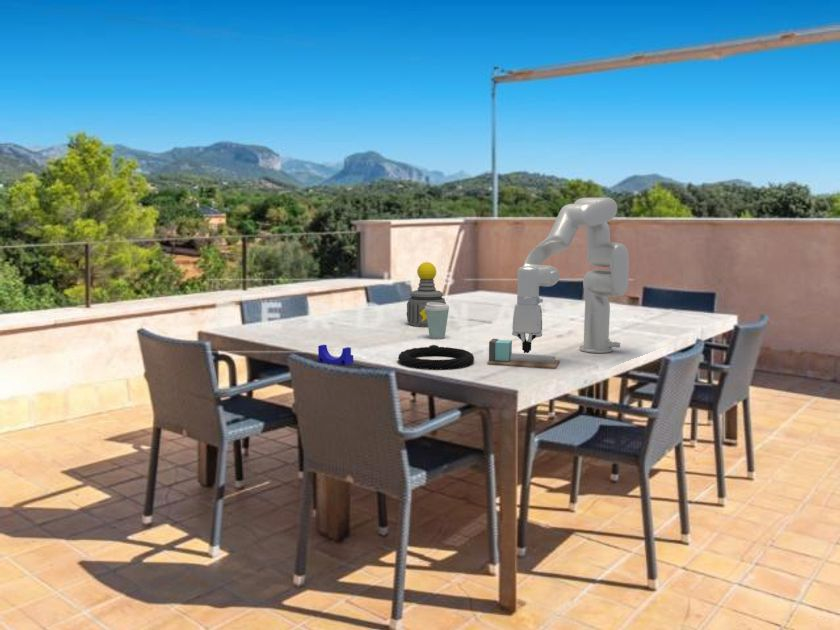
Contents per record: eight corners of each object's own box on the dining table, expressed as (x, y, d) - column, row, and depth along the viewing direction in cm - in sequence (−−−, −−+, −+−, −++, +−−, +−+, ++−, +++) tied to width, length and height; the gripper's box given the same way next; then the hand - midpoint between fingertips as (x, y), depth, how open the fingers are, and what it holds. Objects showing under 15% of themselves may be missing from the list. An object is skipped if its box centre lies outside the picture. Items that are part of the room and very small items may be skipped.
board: (559, 362, 266) (559, 360, 266) (555, 369, 255) (555, 366, 255) (493, 358, 273) (493, 356, 273) (487, 364, 262) (487, 362, 262)
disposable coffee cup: (451, 336, 320) (452, 302, 318) (446, 340, 310) (446, 305, 308) (428, 335, 323) (428, 301, 321) (421, 339, 313) (421, 304, 311)
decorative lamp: (404, 327, 346) (404, 263, 342) (409, 321, 364) (409, 260, 360) (444, 328, 344) (445, 263, 339) (447, 322, 362) (448, 261, 358)
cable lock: (397, 360, 252) (397, 344, 281) (397, 371, 252) (397, 354, 282) (478, 360, 252) (469, 344, 282) (478, 371, 253) (469, 354, 283)
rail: (555, 362, 262) (555, 356, 262) (554, 363, 260) (554, 357, 259) (496, 358, 268) (496, 352, 268) (495, 360, 266) (495, 353, 265)
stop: (498, 357, 270) (498, 338, 269) (494, 361, 263) (494, 342, 263) (492, 357, 271) (493, 338, 270) (488, 361, 264) (489, 341, 263)
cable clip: (353, 363, 264) (353, 346, 263) (346, 365, 260) (346, 348, 259) (325, 360, 269) (325, 343, 268) (318, 362, 265) (318, 345, 264)
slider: (511, 358, 268) (511, 340, 267) (508, 361, 262) (509, 343, 262) (498, 357, 270) (498, 339, 269) (494, 360, 264) (495, 342, 263)
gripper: (550, 301, 262) (549, 351, 265) (508, 299, 267) (507, 349, 269) (547, 303, 255) (546, 355, 258) (504, 301, 259) (503, 353, 262)
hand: (526, 352), depth 263 cm, fingers closed
